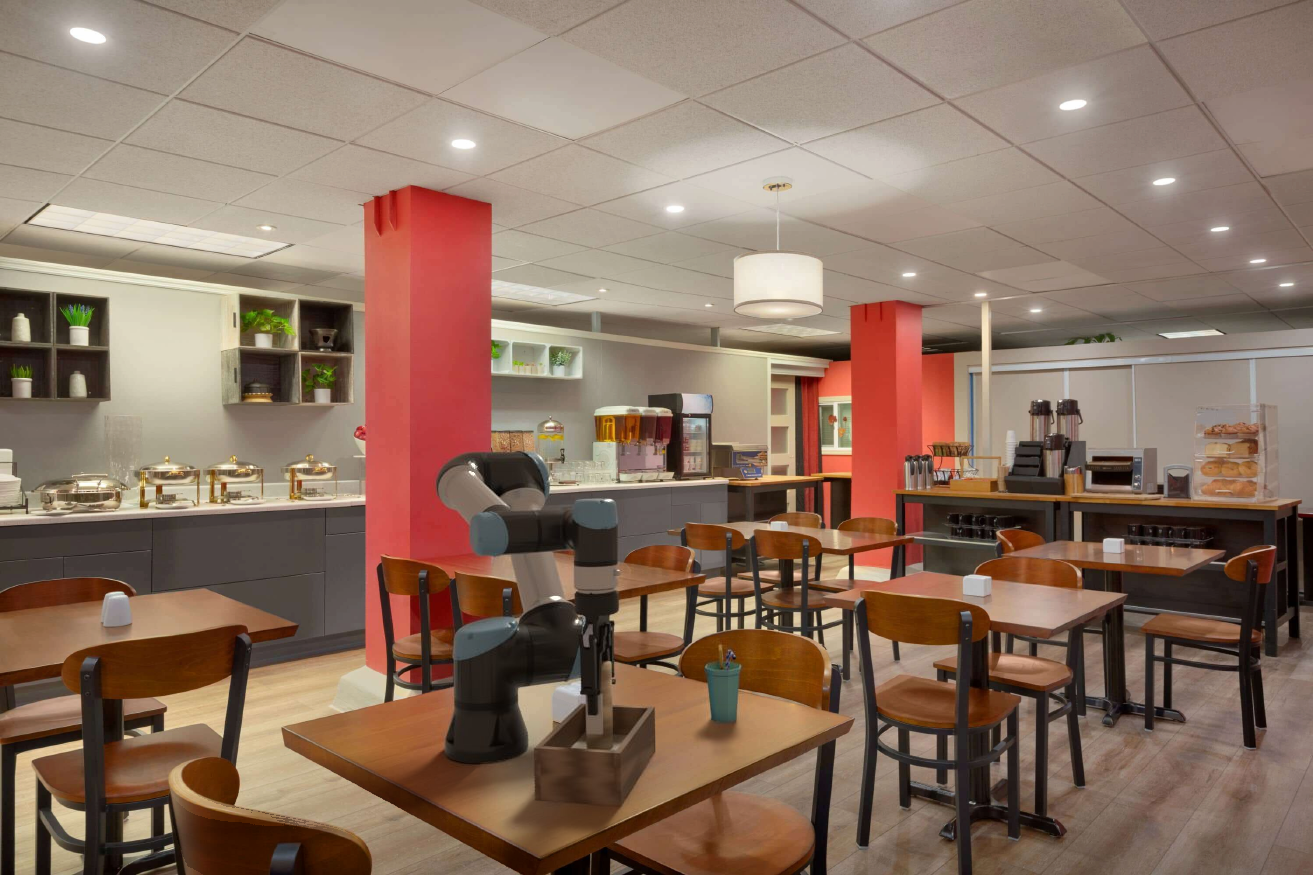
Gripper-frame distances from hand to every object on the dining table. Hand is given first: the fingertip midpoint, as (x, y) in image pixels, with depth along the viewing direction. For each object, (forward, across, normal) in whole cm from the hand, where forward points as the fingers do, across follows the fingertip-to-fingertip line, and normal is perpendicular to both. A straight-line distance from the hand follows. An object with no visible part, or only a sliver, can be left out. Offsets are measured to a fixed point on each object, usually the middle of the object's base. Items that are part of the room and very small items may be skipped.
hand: (599, 728), depth 140 cm
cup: (+8, +32, -17) cm, 37 cm away
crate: (+8, 0, 0) cm, 8 cm away
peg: (+3, 0, 0) cm, 3 cm away
